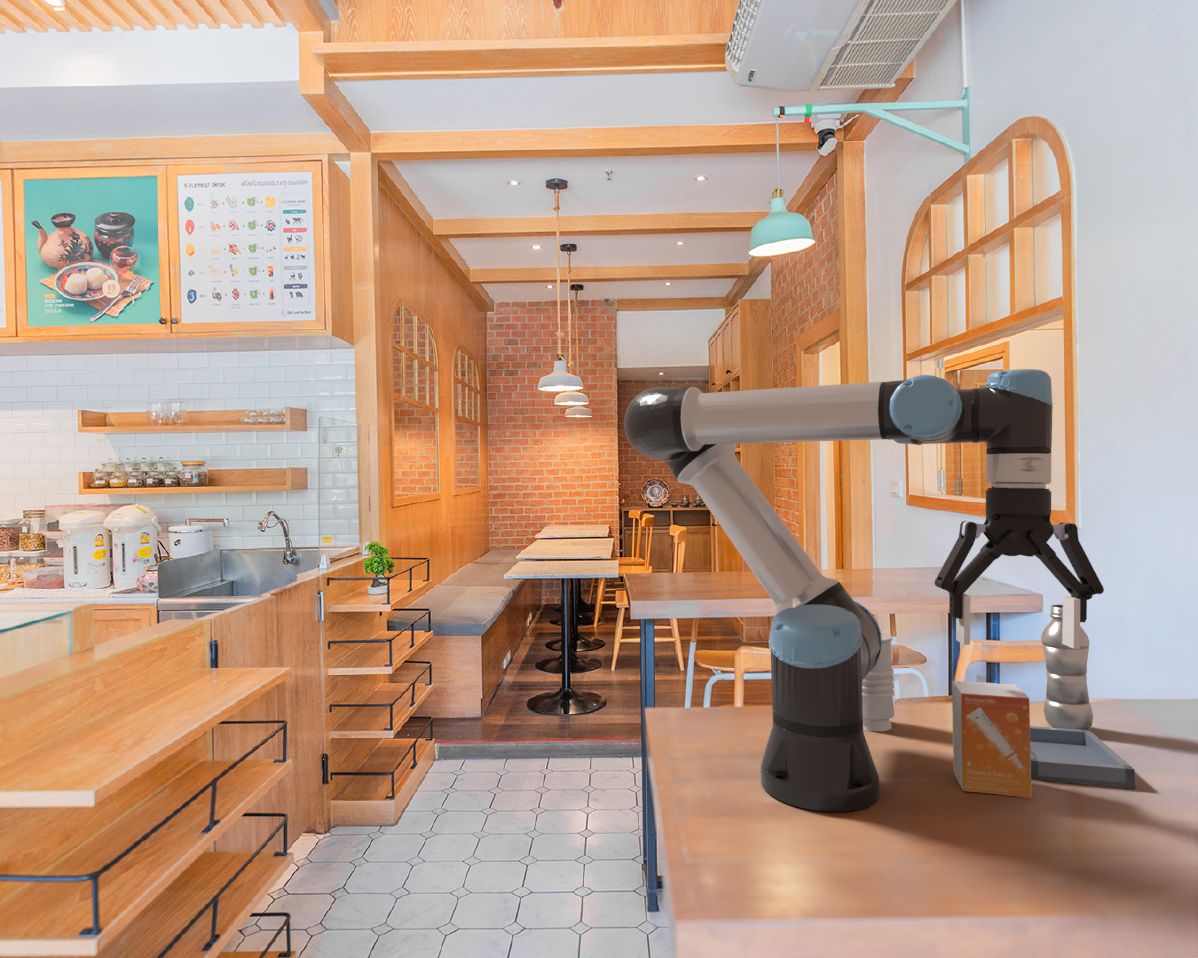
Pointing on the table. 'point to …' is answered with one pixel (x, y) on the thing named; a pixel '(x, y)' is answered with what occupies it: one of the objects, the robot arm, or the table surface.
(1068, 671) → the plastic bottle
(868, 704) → the white bottle
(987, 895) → the table surface
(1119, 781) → the tray
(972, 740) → the small box
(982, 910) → the table surface
